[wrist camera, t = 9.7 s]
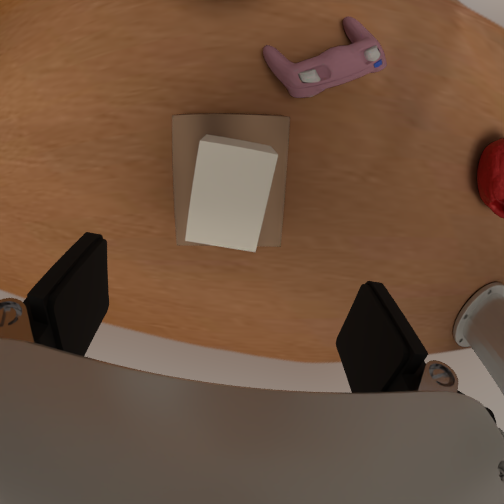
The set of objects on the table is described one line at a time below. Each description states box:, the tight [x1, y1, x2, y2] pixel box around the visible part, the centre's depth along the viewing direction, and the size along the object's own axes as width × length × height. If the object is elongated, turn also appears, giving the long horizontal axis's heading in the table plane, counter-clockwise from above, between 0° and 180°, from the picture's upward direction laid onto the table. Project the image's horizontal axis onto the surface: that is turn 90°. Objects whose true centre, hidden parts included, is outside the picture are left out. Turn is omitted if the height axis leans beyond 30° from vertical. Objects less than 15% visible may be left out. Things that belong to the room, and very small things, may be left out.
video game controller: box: [263, 17, 387, 98], centre depth 21 cm, size 10×5×7 cm, turn 118°
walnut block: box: [172, 113, 290, 247], centre depth 26 cm, size 9×11×5 cm
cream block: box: [185, 134, 278, 252], centre depth 22 cm, size 5×7×4 cm
